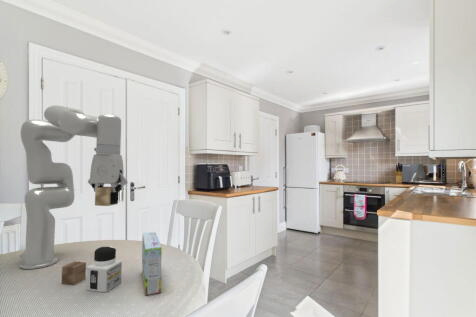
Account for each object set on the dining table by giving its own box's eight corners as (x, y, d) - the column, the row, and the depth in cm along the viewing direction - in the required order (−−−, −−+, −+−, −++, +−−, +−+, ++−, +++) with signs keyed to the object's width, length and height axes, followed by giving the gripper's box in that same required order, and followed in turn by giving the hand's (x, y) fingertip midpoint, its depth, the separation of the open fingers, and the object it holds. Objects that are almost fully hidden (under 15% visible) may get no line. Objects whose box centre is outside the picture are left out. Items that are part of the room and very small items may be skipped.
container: (106, 293, 82) (107, 252, 82) (85, 290, 83) (87, 250, 84) (121, 282, 89) (122, 245, 90) (102, 280, 91) (103, 243, 91)
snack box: (140, 271, 99) (141, 232, 100) (155, 269, 102) (156, 231, 102) (143, 296, 80) (145, 248, 81) (162, 293, 82) (163, 246, 83)
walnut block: (61, 284, 88) (62, 266, 88) (73, 277, 93) (74, 261, 93) (74, 285, 87) (74, 267, 87) (85, 279, 92) (85, 262, 92)
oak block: (94, 205, 85) (95, 187, 86) (105, 203, 90) (105, 186, 91) (108, 206, 84) (108, 188, 85) (117, 204, 89) (118, 186, 90)
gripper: (78, 150, 86) (76, 204, 85) (123, 150, 83) (122, 206, 82) (95, 151, 93) (93, 201, 93) (136, 151, 90) (135, 202, 90)
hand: (106, 202), depth 87 cm, fingers closed on oak block, 5 cm apart
